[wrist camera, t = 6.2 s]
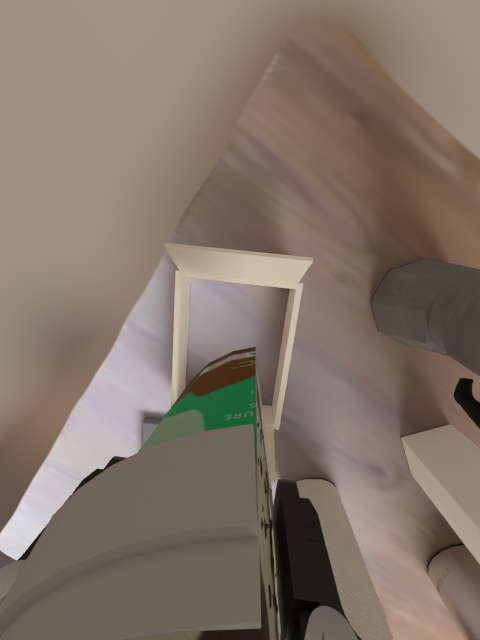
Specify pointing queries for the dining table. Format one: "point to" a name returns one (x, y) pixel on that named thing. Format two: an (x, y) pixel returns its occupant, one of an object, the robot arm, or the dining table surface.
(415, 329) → the coffeepot
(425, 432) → the milk
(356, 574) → the paper towel roll
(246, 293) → the dining table surface
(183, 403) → the food container
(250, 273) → the carton
